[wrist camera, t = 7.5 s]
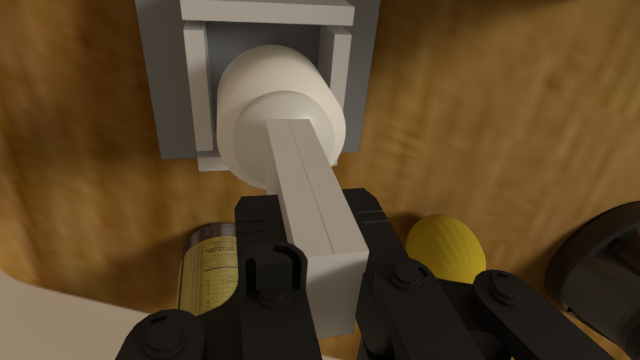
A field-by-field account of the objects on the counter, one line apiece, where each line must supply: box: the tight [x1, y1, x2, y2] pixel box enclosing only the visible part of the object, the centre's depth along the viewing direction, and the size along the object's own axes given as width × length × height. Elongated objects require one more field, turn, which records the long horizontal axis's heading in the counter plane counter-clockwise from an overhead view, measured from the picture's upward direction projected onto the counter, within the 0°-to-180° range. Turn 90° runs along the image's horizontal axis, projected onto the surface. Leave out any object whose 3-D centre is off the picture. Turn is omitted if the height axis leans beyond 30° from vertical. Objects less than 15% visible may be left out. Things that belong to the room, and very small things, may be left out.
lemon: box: [406, 214, 486, 284], centre depth 31 cm, size 6×6×8 cm
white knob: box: [217, 45, 346, 190], centre depth 16 cm, size 5×5×5 cm
